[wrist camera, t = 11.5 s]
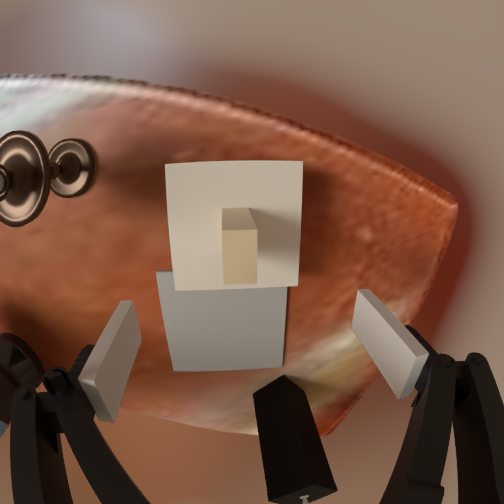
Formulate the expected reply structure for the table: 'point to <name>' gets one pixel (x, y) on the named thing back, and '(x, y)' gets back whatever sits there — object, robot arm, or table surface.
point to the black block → (290, 445)
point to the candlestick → (39, 174)
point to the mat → (223, 326)
